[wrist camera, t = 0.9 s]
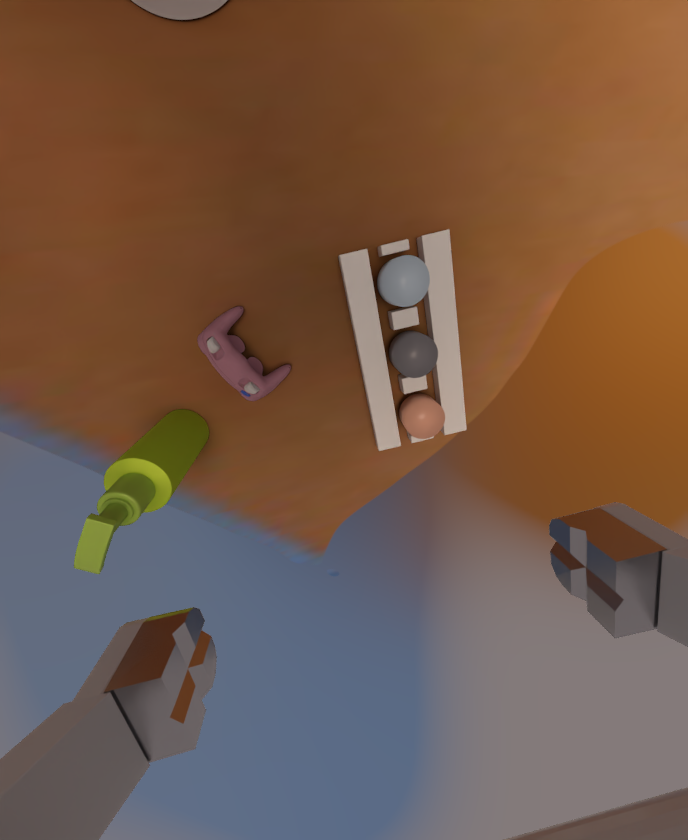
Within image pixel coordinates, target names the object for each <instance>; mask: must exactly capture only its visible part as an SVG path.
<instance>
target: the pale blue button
mask: <svg viewBox="0 0 688 840" xmlns="http://www.w3.org/2000/svg"><path fill="white" fill-rule="evenodd" d="M429 283H430V275H429V271H428V268H427V266H426V265H425V263H424V262H423V261H422V260H421V259H419V258H418V257H416V256H412V255H403V256H400V257H397V258H394V259H391V260H389V261H388V262H387V263H385V264H384V265H383V267H382V268H381V270H380V272H379V274H378V278H377V287H378V291H379V294H380V295H381V297H382V298H383V299H384V300H385V301H386V302H387V303H389V304H392V305H396V306H400V307H409V306H413V305H415V304H416V303H418V302H419V301H421V300H422V298H423V297H424V296H425V294H426V293H427V290H428V288H429Z"/></svg>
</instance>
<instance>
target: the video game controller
mask: <svg viewBox="0 0 688 840" xmlns="http://www.w3.org/2000/svg"><path fill="white" fill-rule="evenodd" d="M243 311H244V310H243V307H241V306H237V307H234V308H232V309H230V310H228V311H227V312H225V313H223V314H222V315H220V316H219V317H217V318H216V319H215V320H214V321H213V322H212V323H211V324H210V325H208V326H207V327H206V328H205V329H204V331H203V332H202V333H201V334H200V335H199V336H198V339H197V340H198V345H199V348H200V349H201V351H202V352H203V353H204V354H205V355H206V356H207V357H208V359H209V360H210V362H211V364H212V365H213V366H214V368H215V369H216V370H217V371H218V373H219V374H220V375H221V376H222V377H223V378H224V379H225V380H226V381H227V382H228V383H229V384H230V385H231V386H233V387H234V388H235V389H236V390H238V391H239V393H240V394H241V395H242V396H243V397H244V398H245V399H247V400H249V401H256V400H258V399H260V398H262V397H264V396H265V395H267V394H269V393H270V392H271V391H272V390H274V389H275V388H276V387H277V386H278V385H279V384H280V383H281V381H282V380H283V379H284V378H285V377H286V376H287V375H288V374H289V372H290V370H291V366H290V365H289V364H287V365H284V366H281V367H279V368H277V369H276V370H274V371H272V372H271V373H269V374H268V375H266V376H262V372H263V366H262V364H261V362H260V361H259V360H258V359H256V358H255V357H250V358H248V359H246V358H245V357H244V356H243V355H242V354H241V353H242V352H244V350H245V346H244V343H243V342H242V340H241V339H240V338H239V337H237V336H235V335H227V332H228V331H229V329H230V328H231V326H232V325H233V324H234V323H235V322H236V321H237V320H238V319H239V318H240V317H241V315H242V313H243Z"/></svg>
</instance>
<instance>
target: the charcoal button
mask: <svg viewBox="0 0 688 840" xmlns="http://www.w3.org/2000/svg"><path fill="white" fill-rule="evenodd" d="M389 358H390V361H391V363H392V365H393V366H394V367H395V368H396V369H397V370H398V371H399V372H400V373H402V374H403V375H404V376H406V377H410V378H419V377H422V376H425V375H426V374H428V373H429V372H430V371H431V370H432V369H433V368H434V366H435V364H436V362H437V359H438V349H437V346H436V344H435V342H434V341H433V340H432V339H431V338H430V337H429V336H427V335H424V334H422V333H419V332H417V331H412V330H411V331H405V332H402V333H400V334H399V335H397V336H396V337H395V338H394V340H393V341H392V343H391V345H390V348H389Z"/></svg>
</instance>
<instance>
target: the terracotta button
mask: <svg viewBox="0 0 688 840" xmlns="http://www.w3.org/2000/svg"><path fill="white" fill-rule="evenodd" d="M399 418H400V421H401V422H402V424H403V425H404V427H405V428H406V430H407V431H408V432H409V434H410V435H412V436H413V437H415V438H418V439H427V438H430V437H433V436H434V435H436V434H437V433H438V432H439V431H440V430H441V429H442V427H443V425H444V422H445V413H444V410H443V408H442V407H441V406H440V405H439V404H438V403H437V402H436V401H435V400H434V399H432V398H431V397H430V396H428V395H426V394H422V393H418V394H413V395H411V396H409V397H408V398H406V399H405V400H404V401H403V403H402V404H401V406H400V409H399Z"/></svg>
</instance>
